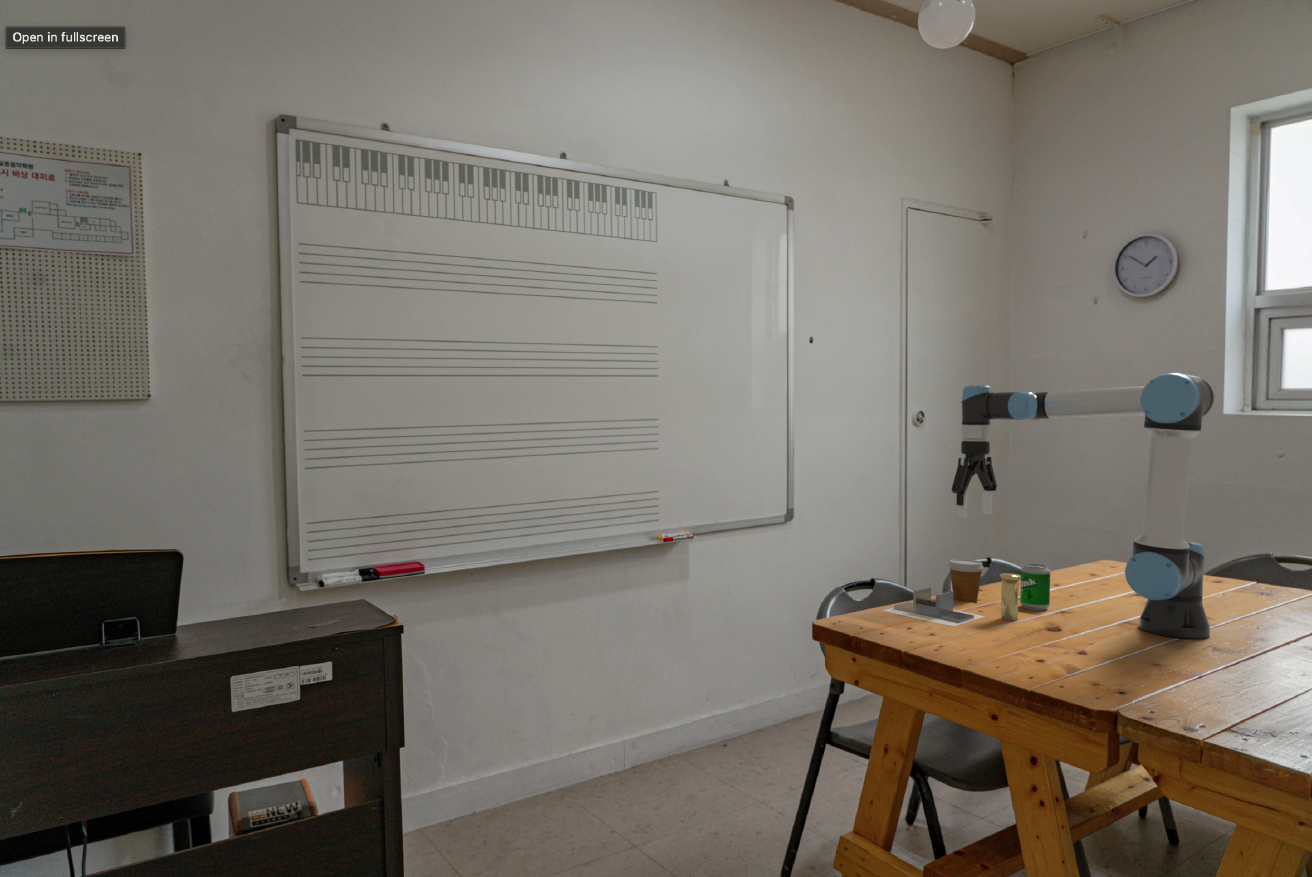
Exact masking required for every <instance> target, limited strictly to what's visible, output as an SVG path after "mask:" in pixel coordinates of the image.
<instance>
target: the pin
mask: <svg viewBox="0 0 1312 877" xmlns="http://www.w3.org/2000/svg"><path fill="white" fill-rule="evenodd" d="M999 578H1000V579H1001V600H1000V602H1001V605H1000V606H1001V611H1000V619H1001V620H1002V621H1006V622H1018V620H1019V586H1020V583H1019V581H1021V574H1018V573H1017V574H1016V573H1007V572H1003V573H999Z"/></svg>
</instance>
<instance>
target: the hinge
mask: <svg viewBox="0 0 1312 877" xmlns="http://www.w3.org/2000/svg"><path fill="white" fill-rule="evenodd" d="M953 596H954V592H953V591H952V590H950V591H946V592H942V593H938V594H936V595H935V600H932V587H931V586H926V587H923V588H920V589H914V590H913V596H912V597H913V599H912V600H913V601H912V602H911V601H907V602H902V603H899V604H896V605H895V604H894V605H893V608H894V609H898V610H902V611H907V612H912V613H916V614H920V615H925V616H930V617H934V618H939V619H944V620H948V621H953V622H958V623H961V622H964V621H968V620H971V619H974V615H970V614H965V613H960V612H955V611H953V610H954V599H953Z"/></svg>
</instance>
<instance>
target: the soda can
mask: <svg viewBox="0 0 1312 877" xmlns="http://www.w3.org/2000/svg"><path fill="white" fill-rule="evenodd" d="M1020 576H1021V579H1020V592H1019V594H1020V598H1019V599H1020V600H1019V601H1020V602H1019V603H1020V604H1021V606H1022V607H1023V608H1024V609H1027V610H1030V611H1031V610H1032V611H1046V610H1047V609H1048V608H1049V607H1050V602H1051V600H1050V599H1051V597H1050V596H1051V570H1050V569H1049V567H1048V566H1047V565H1045V564H1040V563H1025V564H1024V565H1022V566H1021V568H1020Z"/></svg>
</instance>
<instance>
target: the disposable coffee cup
mask: <svg viewBox="0 0 1312 877" xmlns="http://www.w3.org/2000/svg"><path fill="white" fill-rule="evenodd" d="M947 566H948V567H949V572H950V580H951V581H950V582H951V591H953V592H954V596H953V600H956V601H959V602H966V603H970V604H971V603H972V604H977V603H978V598H979V591H980V584H981V578H982V573H983V572H982V571H983V569H984V566H983V563H982V562H981V561H980V560H976V559H975V560H974V559H966V558H965V559H964V558H956V559H951V560H950V561H949V563H948V565H947Z"/></svg>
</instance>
